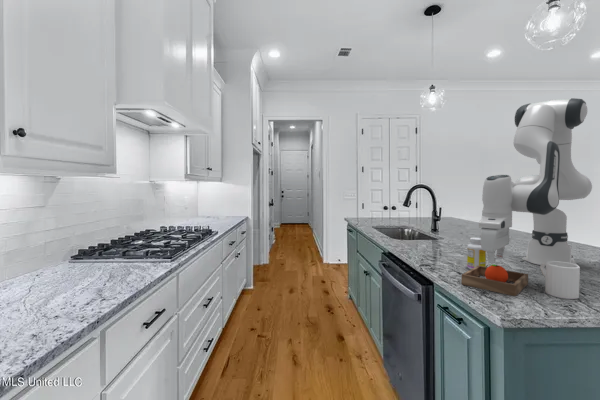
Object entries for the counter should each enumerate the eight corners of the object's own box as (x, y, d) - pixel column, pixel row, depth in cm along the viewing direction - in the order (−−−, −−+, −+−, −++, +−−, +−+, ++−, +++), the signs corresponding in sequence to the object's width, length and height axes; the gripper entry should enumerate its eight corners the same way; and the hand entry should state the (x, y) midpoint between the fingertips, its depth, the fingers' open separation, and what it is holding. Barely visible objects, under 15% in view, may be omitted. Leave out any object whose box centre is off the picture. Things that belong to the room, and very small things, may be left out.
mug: (551, 285, 104) (551, 257, 103) (586, 298, 92) (587, 267, 91) (529, 286, 103) (529, 258, 103) (561, 299, 91) (562, 268, 91)
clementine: (477, 281, 109) (477, 262, 109) (491, 279, 111) (492, 260, 111) (497, 289, 101) (498, 268, 101) (512, 286, 103) (513, 266, 103)
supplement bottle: (485, 268, 126) (486, 237, 125) (485, 272, 120) (486, 240, 120) (467, 266, 130) (467, 236, 129) (466, 269, 124) (466, 239, 123)
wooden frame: (477, 274, 118) (478, 265, 118) (528, 283, 106) (528, 274, 106) (461, 284, 106) (461, 274, 106) (515, 296, 95) (515, 285, 94)
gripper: (495, 218, 114) (494, 254, 115) (476, 222, 100) (476, 263, 101) (515, 219, 109) (514, 257, 110) (498, 224, 96) (497, 267, 96)
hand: (495, 260), depth 105 cm, fingers open, 8 cm apart
